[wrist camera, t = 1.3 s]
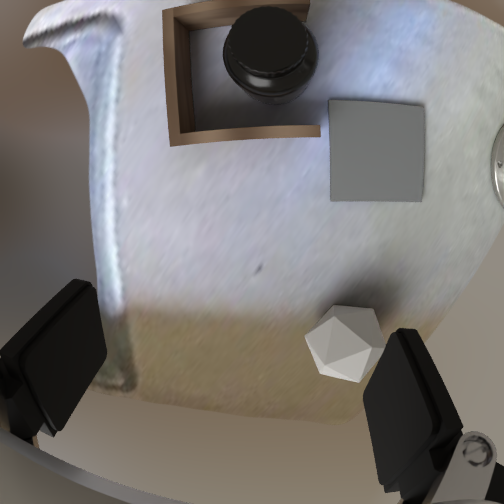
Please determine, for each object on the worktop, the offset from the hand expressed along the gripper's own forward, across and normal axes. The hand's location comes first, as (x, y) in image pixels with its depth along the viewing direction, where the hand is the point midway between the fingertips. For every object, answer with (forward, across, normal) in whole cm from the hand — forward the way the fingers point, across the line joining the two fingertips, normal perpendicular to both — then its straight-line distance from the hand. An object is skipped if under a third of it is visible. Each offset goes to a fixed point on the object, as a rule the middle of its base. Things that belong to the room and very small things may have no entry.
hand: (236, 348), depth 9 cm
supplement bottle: (+24, +1, -12) cm, 26 cm away
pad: (+24, -10, -6) cm, 26 cm away
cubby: (+24, +4, -11) cm, 26 cm away
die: (+24, -11, +15) cm, 30 cm away
